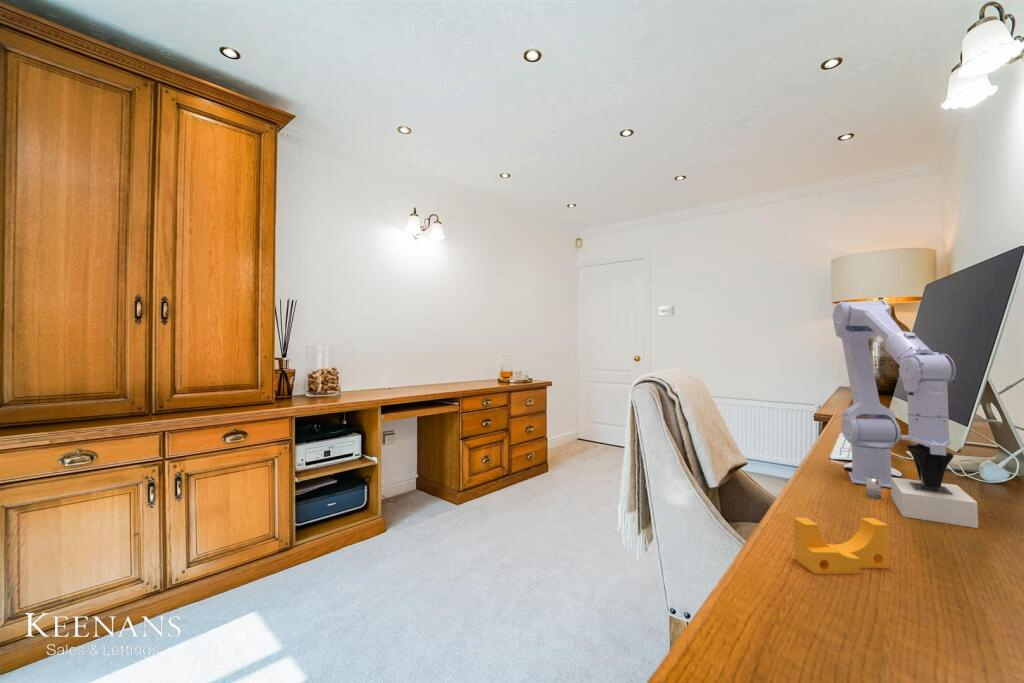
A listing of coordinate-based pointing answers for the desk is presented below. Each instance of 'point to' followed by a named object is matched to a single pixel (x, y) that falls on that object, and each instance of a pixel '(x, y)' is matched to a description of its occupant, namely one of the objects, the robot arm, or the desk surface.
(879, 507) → the desk surface
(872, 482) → the short pin
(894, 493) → the pin block
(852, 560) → the pipe clamp
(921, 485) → the long pin
